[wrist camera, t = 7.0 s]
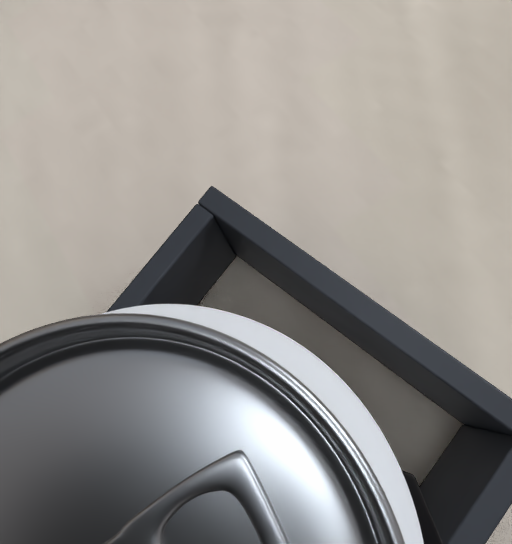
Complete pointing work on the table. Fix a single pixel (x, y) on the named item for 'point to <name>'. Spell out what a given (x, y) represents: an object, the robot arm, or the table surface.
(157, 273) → the bin
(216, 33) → the table surface
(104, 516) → the can
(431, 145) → the table surface
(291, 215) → the table surface
